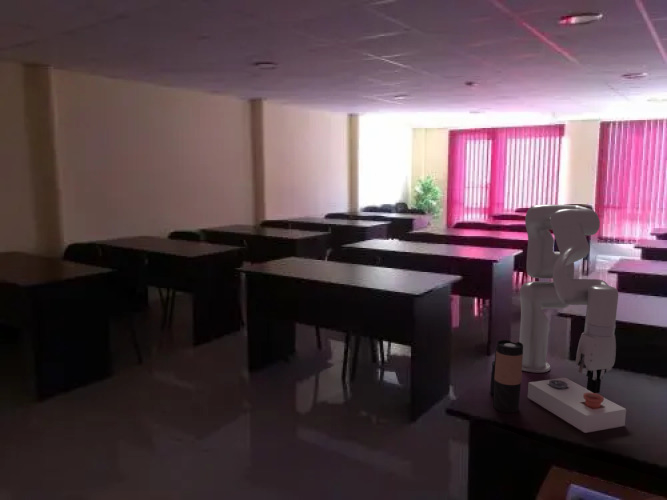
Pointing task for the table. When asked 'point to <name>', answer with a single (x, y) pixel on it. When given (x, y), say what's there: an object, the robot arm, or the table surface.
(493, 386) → the two-way radio
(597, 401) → the red button
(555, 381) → the metal button
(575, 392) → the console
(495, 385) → the travel mug
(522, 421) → the table surface
